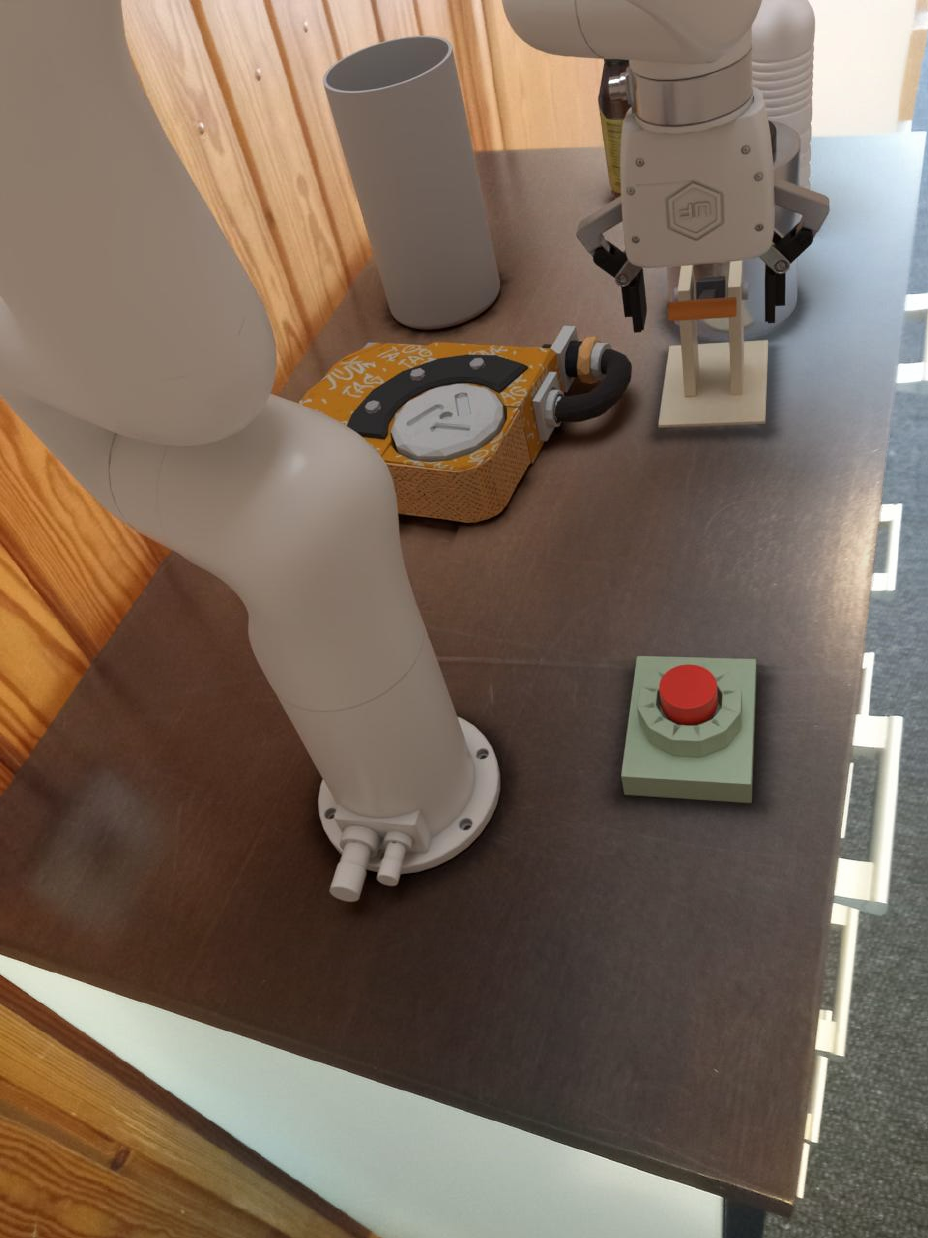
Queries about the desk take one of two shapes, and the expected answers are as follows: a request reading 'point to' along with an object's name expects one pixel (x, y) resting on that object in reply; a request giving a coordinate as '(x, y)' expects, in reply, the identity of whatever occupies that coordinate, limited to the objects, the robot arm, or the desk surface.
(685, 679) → the power button
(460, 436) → the device
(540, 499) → the desk surface
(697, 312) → the orange handle lever
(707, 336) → the silver metal cylinder
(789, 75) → the water bottle
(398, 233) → the cylinder vase
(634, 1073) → the desk surface
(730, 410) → the lever stand
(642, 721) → the push button block
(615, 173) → the sauce bottle
